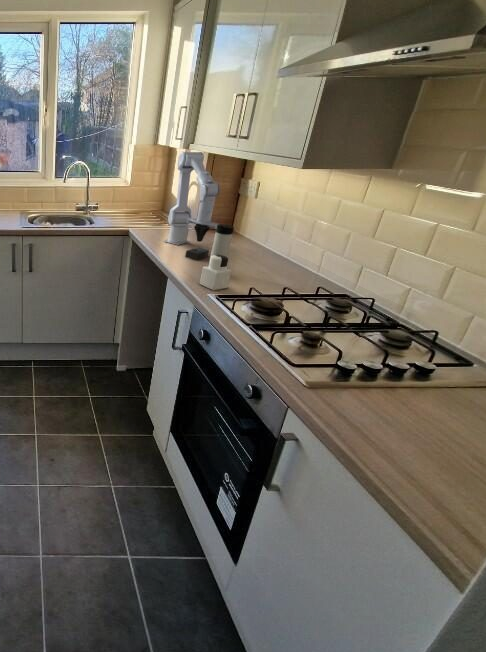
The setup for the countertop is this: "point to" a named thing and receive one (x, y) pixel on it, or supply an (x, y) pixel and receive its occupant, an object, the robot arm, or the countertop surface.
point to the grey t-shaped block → (203, 250)
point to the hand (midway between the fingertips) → (199, 241)
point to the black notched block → (195, 254)
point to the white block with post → (216, 273)
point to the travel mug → (222, 240)
